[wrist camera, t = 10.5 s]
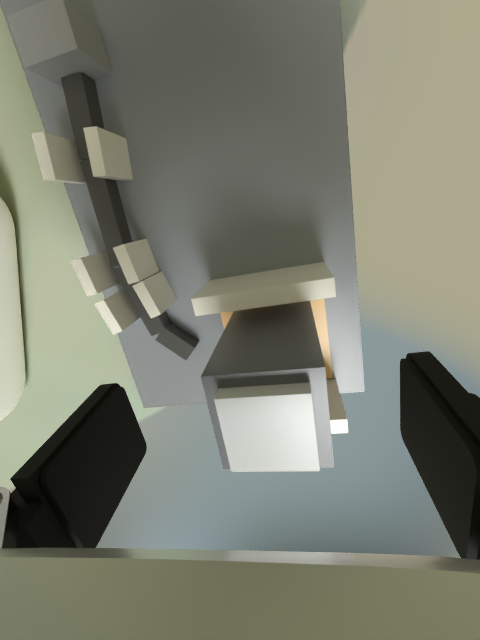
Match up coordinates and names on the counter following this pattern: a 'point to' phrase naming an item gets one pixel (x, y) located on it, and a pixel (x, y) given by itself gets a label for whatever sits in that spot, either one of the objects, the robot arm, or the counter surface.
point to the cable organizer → (10, 318)
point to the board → (200, 172)
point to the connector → (270, 391)
